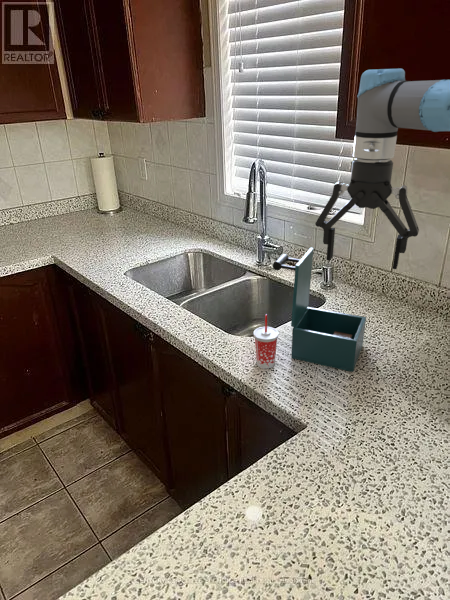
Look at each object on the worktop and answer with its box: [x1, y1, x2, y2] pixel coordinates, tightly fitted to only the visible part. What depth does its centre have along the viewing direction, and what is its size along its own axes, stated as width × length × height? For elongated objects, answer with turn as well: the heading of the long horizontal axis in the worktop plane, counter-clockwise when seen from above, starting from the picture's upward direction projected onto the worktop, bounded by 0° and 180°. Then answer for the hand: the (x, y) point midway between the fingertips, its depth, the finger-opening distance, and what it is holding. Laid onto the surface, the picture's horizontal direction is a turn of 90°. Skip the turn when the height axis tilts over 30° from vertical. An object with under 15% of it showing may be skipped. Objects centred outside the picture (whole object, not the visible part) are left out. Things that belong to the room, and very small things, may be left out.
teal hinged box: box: [290, 306, 367, 373], centre depth 114 cm, size 16×13×9 cm
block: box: [333, 331, 352, 339], centre depth 114 cm, size 4×4×4 cm
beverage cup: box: [253, 313, 280, 370], centre depth 109 cm, size 6×6×14 cm
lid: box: [272, 247, 314, 328], centre depth 113 cm, size 16×13×8 cm
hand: (361, 262), depth 95 cm, fingers open, 13 cm apart
